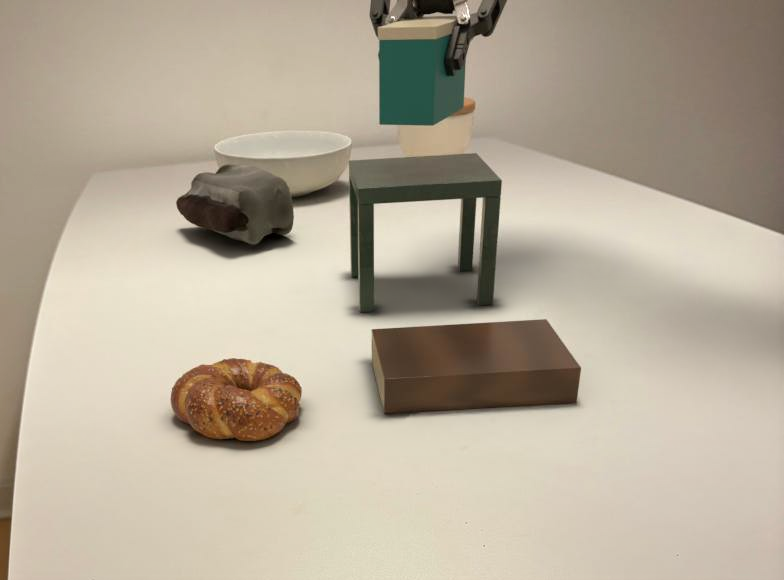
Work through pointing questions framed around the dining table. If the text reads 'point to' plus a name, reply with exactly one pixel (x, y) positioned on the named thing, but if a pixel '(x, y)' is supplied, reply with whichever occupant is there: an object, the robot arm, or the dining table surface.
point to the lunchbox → (417, 72)
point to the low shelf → (473, 366)
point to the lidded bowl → (439, 134)
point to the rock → (239, 203)
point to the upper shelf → (425, 183)
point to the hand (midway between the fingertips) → (418, 69)
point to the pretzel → (236, 399)
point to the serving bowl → (290, 156)
